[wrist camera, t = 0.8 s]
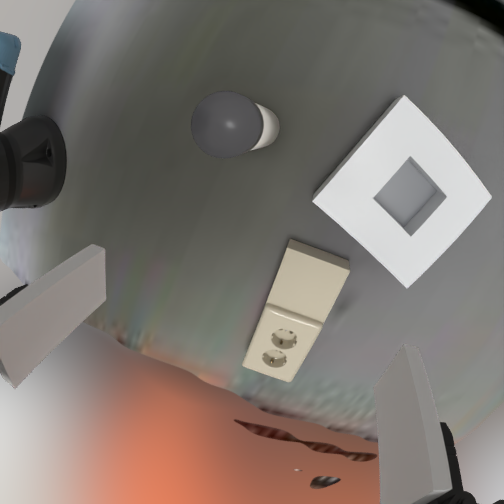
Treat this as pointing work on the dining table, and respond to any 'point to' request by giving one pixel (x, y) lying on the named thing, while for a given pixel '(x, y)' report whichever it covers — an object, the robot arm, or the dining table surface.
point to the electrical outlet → (295, 310)
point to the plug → (232, 125)
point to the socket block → (403, 192)
